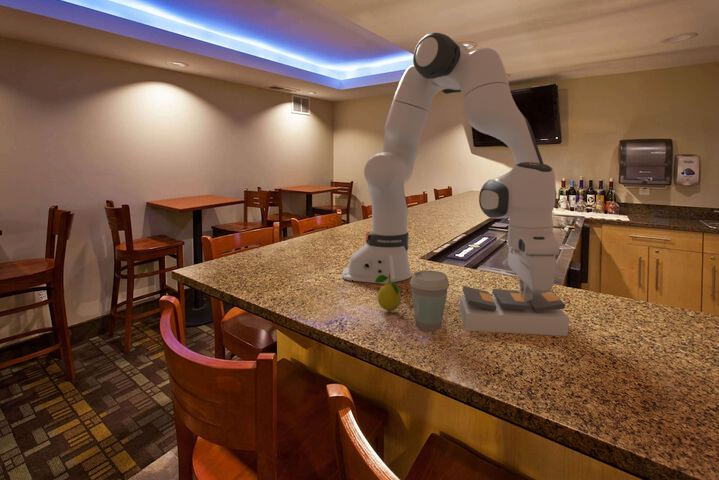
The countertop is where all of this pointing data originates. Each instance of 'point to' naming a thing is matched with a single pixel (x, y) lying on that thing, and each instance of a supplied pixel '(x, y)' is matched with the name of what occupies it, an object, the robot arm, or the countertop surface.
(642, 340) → the countertop surface
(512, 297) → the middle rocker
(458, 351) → the countertop surface
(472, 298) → the left rocker
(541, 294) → the right rocker
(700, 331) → the countertop surface
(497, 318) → the rocker switch box
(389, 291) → the lemon
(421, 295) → the coffee cup
